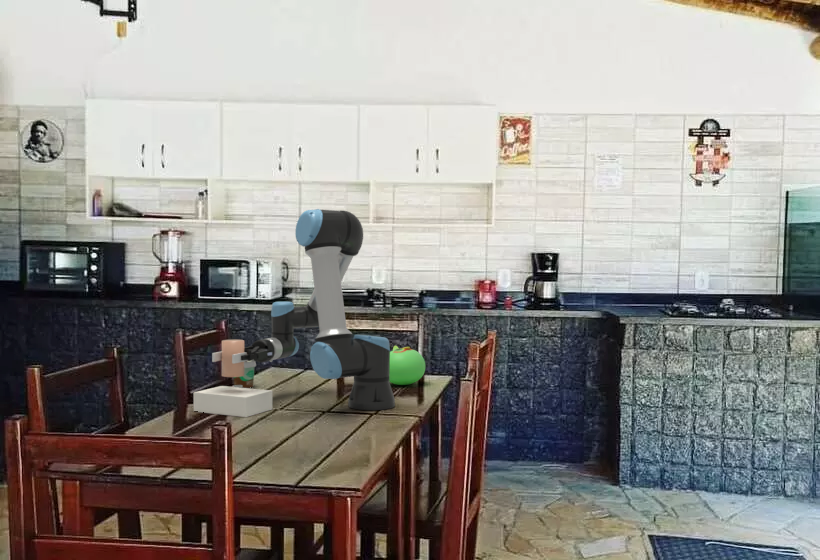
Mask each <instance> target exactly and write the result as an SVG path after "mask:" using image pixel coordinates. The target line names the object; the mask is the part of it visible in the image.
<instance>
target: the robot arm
mask: <svg viewBox="0 0 820 560" xmlns="http://www.w3.org/2000/svg"><path fill="white" fill-rule="evenodd" d="M363 229H364V227H363V225H362V223H361V221H360V219H359V218H358V217H357V216H356V215H355V214H354V213H352V212H351V211H346V210H333V209H320V208H317V209H307V210H305V211H304V212H302V213H301V214H300V216H299V217H298V219H297V222H296V226H295V233H294V234H295V239H296V242H297V243H298V245H299V246H301V247H304V251H305V255H307V257H309V258H310V261H311V262H310V263H311V269H312V278H313V279H312V280H313V287H314V288H313V290H312V291H313V292H312V293H311V296H310V298H309V299H308V302H307V304H306V306H294V303H293V302H292V301H275V302H272V304H271V312H270V315H271V316H270V317H271V337H268V338H264V339H263V338H262V339H257V340H255V341H254V342H253V343H252V345H249V346H244V353H238V354H233V355H232V363H239V362H244V361H247V360H248V361H251V360H253V359H254V361H255V362H257V363H266V362H270V363H273V360H279V359H285V358H289V357H292V356H294V355H296V354H297V353H298V351H299V348H300V342H299V340H298V338H297V337H296V336H294V329H303V328H305V329H306V328H318V329H319V332H318V334H317V336H315V343H313V344H312V345H311V349H310V352H309V358H310V359H309V360H310V364H311V367H312V369H313V371H314V373H316V374H317V375H318V377H320V378H322V379H324V380H329V379H330V380H337V379H342V378H350V377H351V378H352V377H353V384H352V387H351V391H350V394H349V397H348V402H347V403H348V404H347V405H348V407H349V408H351V409H354V410H360V411H362V410H363V411H380V410H381V411H382V410H389V409H393V408H394V407H395V406H396V405H395V404H396V400H395V399H396V398H395V396H394V395H395V394H394V393H393V392H394V391H393V389H392V386H391V382H390V352H391V347H390V341H389V339H388V338H387V337H384V336H376V335H366V334H354V335H353V333H352V332H351V331H350V330H349V329H348V328H347V320H346V312H345V305H344V304H345V303H344V296H343V289H342V281H343V279H344V278H345V275H346V273H347V271H348V268H349V266H350V264H351V262H352V260H353V258H354V257H356V256H357V255H358V254H359V252H360V251H361V248H362V245H363V240H364V230H363ZM211 356H212V357H211V362H212V363H216V362H220V361H221V362H222V349H220V350H219V351H217V352H212V353H211Z"/></svg>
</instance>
